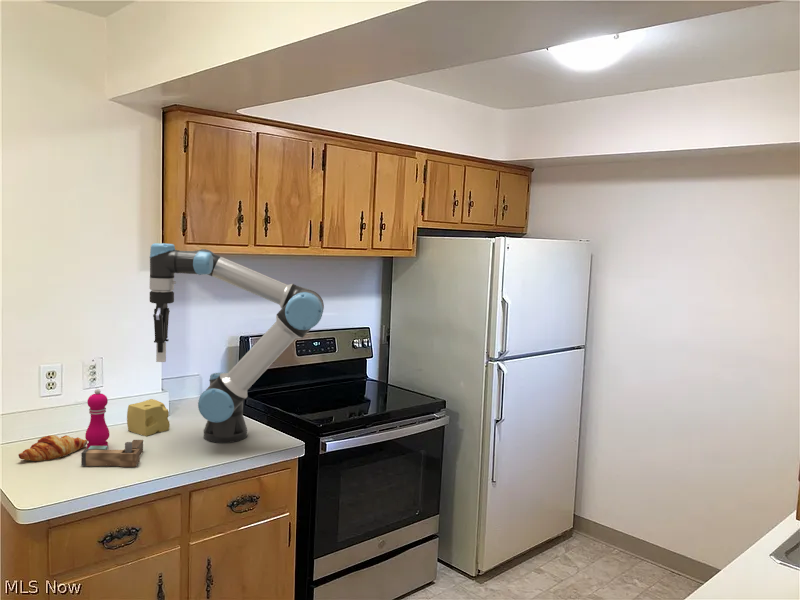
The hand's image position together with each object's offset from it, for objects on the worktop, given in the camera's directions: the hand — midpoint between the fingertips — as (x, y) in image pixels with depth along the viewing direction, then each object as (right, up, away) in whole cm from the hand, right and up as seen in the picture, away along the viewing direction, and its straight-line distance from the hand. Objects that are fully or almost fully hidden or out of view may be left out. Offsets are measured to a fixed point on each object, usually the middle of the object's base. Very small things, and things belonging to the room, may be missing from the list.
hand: (161, 361), depth 214 cm
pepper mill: (-21, -29, -1) cm, 36 cm away
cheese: (-12, -27, +20) cm, 36 cm away
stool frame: (-11, -30, -9) cm, 33 cm away
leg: (-10, -30, -14) cm, 35 cm away
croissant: (-31, -29, -8) cm, 43 cm away
